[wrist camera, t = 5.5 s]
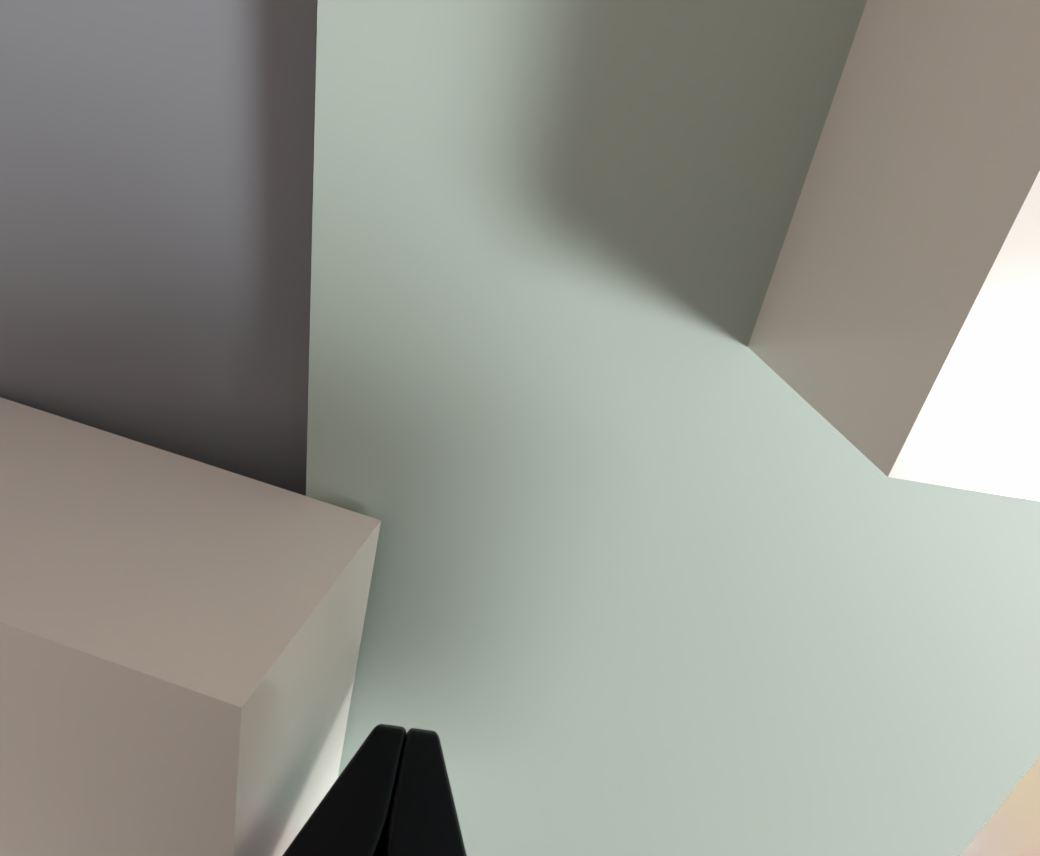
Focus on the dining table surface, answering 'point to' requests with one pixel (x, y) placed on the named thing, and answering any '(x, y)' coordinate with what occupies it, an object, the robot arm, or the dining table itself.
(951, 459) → the tile
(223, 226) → the tray
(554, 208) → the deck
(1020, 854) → the dining table surface
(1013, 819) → the dining table surface
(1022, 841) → the dining table surface
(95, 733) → the tile
